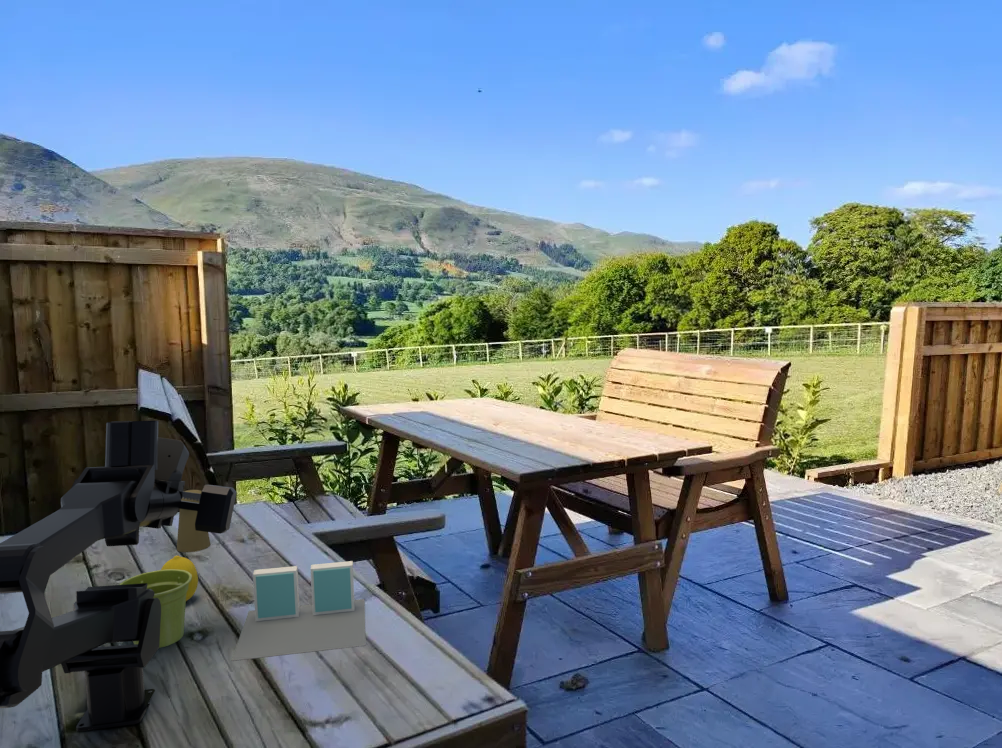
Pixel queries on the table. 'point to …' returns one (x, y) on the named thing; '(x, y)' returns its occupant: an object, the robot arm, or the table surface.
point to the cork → (190, 530)
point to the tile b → (332, 587)
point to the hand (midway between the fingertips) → (182, 499)
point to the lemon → (188, 566)
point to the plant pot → (167, 600)
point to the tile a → (276, 593)
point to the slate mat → (301, 633)
